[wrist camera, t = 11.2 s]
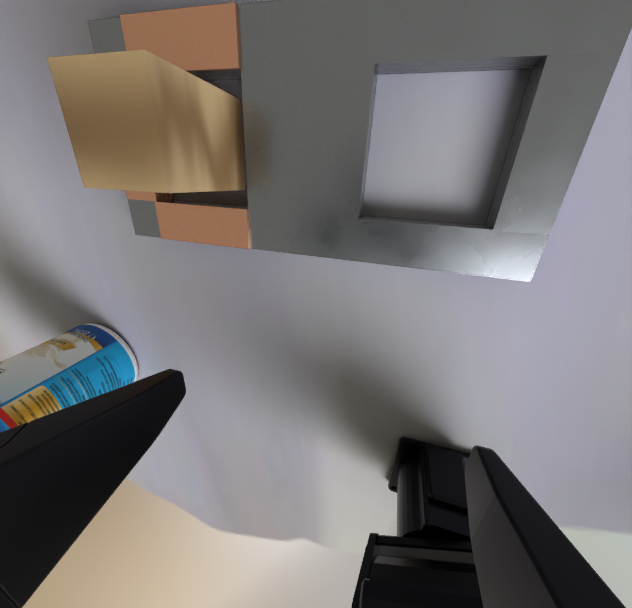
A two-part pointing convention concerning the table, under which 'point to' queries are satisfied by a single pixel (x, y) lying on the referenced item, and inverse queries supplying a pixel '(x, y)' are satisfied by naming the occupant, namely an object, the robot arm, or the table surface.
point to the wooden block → (148, 124)
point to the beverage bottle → (63, 373)
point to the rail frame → (357, 112)
